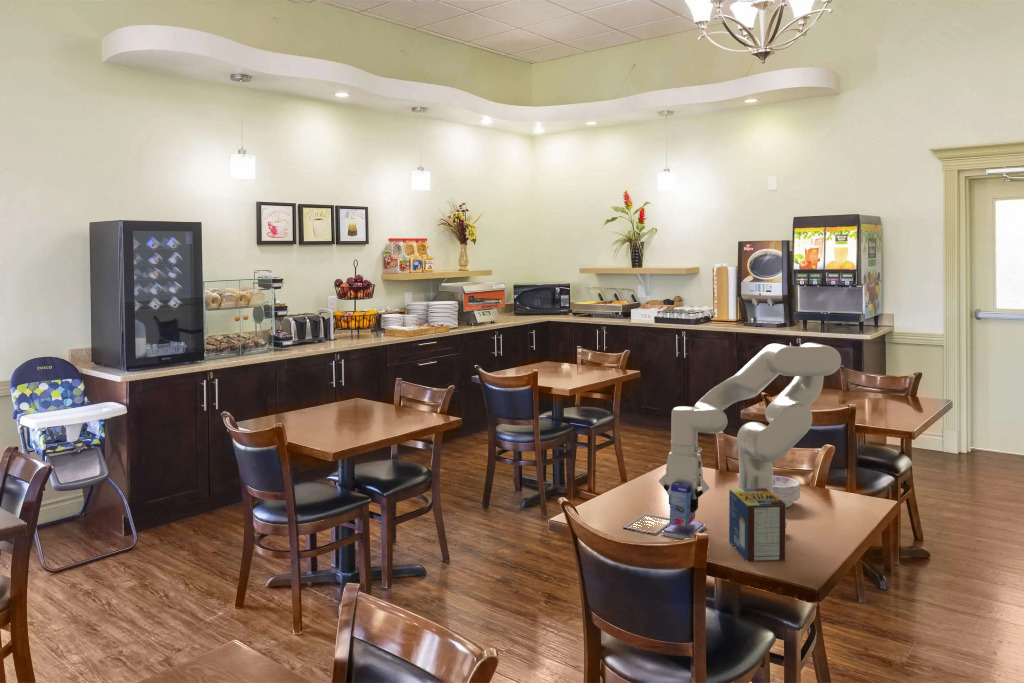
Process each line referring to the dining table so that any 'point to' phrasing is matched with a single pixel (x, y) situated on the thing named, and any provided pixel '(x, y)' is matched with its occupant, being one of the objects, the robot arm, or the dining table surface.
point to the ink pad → (684, 530)
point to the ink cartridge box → (681, 505)
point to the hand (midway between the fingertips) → (683, 508)
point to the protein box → (757, 524)
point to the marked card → (649, 522)
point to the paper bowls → (786, 489)
